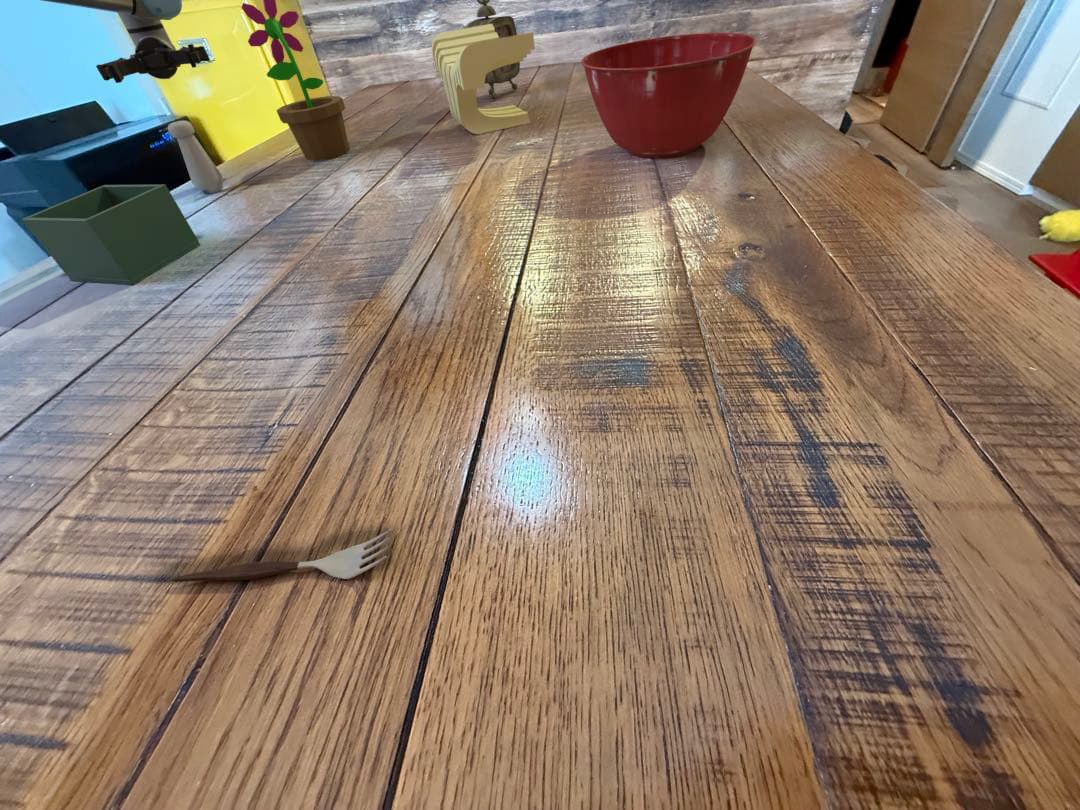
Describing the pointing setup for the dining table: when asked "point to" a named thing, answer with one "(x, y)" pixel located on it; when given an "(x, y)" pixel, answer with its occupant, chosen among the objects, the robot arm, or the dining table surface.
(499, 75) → the tabletop clock
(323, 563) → the fork
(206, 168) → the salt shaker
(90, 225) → the waste bin
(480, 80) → the slatted curved stool
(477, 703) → the dining table surface
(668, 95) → the mixing bowl
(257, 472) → the dining table surface
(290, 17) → the flowerpot
